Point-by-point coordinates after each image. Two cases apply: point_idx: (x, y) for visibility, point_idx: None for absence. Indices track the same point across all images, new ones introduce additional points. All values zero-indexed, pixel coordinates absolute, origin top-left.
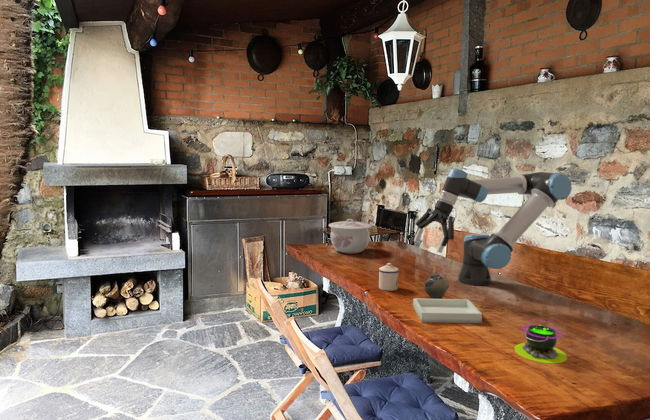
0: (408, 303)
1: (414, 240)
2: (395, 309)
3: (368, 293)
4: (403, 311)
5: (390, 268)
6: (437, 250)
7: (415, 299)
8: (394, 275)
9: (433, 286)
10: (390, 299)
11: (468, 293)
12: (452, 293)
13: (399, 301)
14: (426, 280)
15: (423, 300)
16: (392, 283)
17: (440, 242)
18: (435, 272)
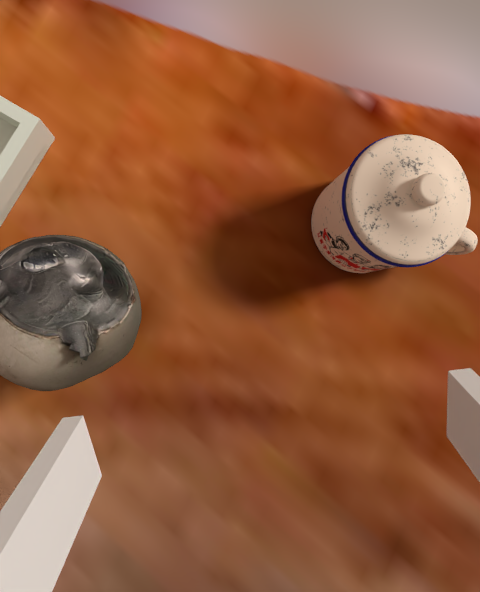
0: (108, 153)
1: (464, 376)
2: (64, 38)
3: (327, 82)
4: (22, 52)
5: (382, 179)
6: (69, 426)
7: (18, 115)
8: (338, 204)
9: (9, 246)
10: (201, 116)
11: (95, 558)
12: (135, 475)
13: (155, 134)
14: (94, 260)
15: (2, 158)
16: (322, 203)
17: (22, 512)
18: (87, 345)
